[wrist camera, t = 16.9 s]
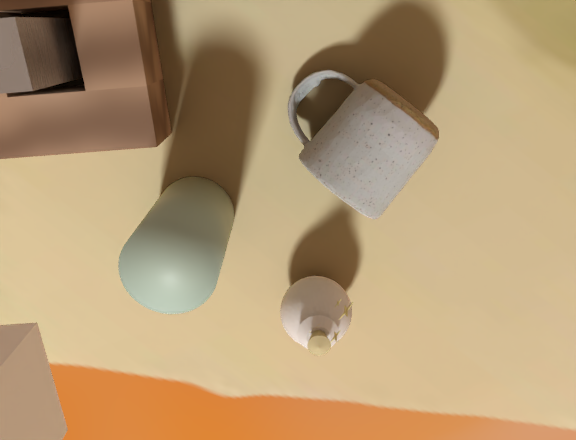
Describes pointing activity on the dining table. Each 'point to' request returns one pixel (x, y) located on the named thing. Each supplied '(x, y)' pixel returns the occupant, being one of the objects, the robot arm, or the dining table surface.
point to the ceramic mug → (365, 143)
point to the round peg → (178, 247)
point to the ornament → (316, 313)
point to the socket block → (92, 85)
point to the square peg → (37, 53)
